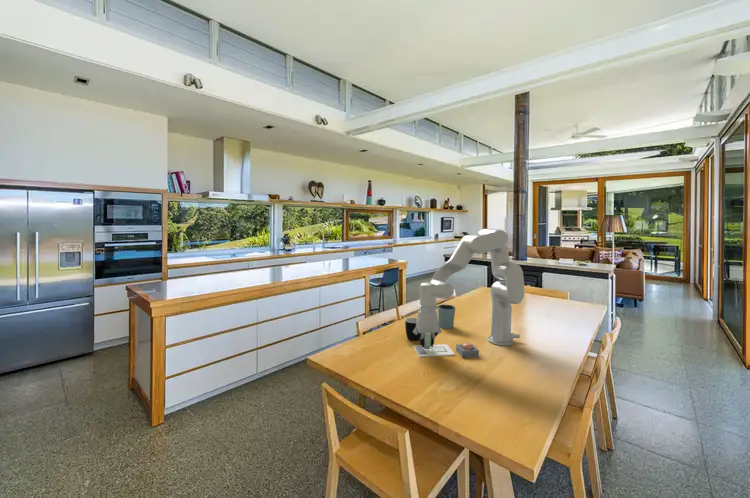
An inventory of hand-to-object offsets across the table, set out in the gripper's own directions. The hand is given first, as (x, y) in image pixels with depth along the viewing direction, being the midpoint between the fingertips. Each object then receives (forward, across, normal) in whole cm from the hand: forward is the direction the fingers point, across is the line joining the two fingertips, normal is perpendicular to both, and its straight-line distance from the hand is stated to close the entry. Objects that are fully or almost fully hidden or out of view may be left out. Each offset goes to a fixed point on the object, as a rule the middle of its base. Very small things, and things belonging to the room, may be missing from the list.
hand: (426, 345), depth 161 cm
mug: (+3, +2, -18) cm, 18 cm away
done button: (+1, -18, +4) cm, 19 cm away
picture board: (+3, -4, 0) cm, 5 cm away
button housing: (+3, -18, +4) cm, 19 cm away
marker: (+1, 0, 0) cm, 1 cm away
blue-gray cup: (+3, -21, -34) cm, 40 cm away
